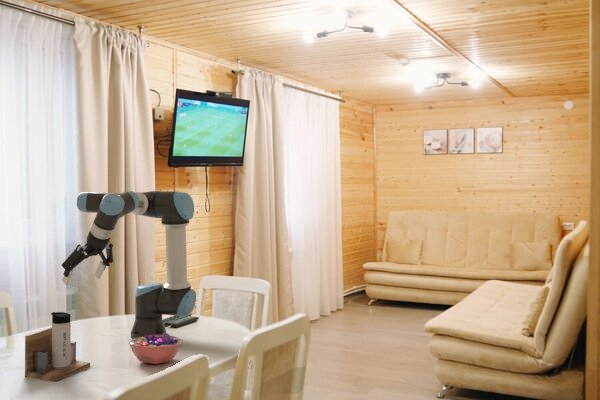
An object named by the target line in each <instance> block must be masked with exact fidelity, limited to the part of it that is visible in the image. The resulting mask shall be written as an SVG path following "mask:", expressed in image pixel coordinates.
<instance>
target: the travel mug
mask: <svg viewBox="0 0 600 400" xmlns="http://www.w3.org/2000/svg"><path fill="white" fill-rule="evenodd" d="M50 315H51V316H52V317H51V318H52V319H51V327H52V369H54V370H64V369H68V368H69V367H70V341H71V335H72V333H71V330H72V329H71V328H72V326H71V324H72V323H71V322H72V321H71V314H70V313H69V312H63V311H57V312H55V311H53V312H51V313H50Z"/></svg>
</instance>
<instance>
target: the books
mask: <svg viewBox="0 0 600 400" xmlns="http://www.w3.org/2000/svg"><path fill="white" fill-rule="evenodd" d="M76 360H77V342H76V341H71V340H70V363H71V362H73V361H76Z"/></svg>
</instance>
